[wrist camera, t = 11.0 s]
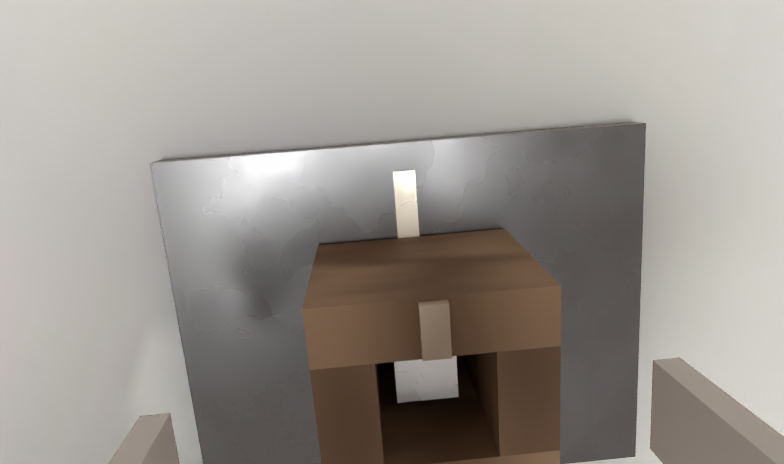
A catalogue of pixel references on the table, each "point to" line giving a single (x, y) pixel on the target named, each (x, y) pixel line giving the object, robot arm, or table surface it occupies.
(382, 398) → the brown cardboard box
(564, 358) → the metal panel
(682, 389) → the robot arm
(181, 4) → the table surface
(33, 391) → the table surface
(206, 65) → the table surface
